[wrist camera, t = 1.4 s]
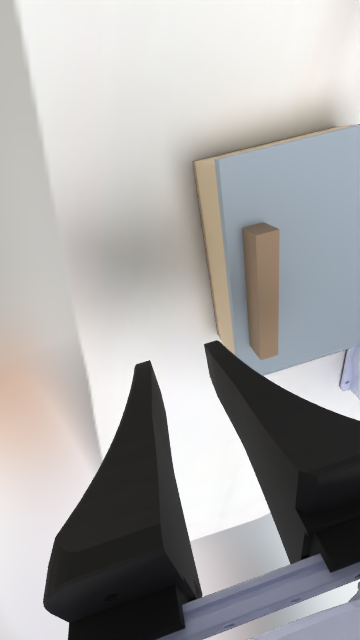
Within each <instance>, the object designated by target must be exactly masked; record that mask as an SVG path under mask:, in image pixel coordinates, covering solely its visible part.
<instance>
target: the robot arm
mask: <svg viewBox="0 0 360 640" xmlns="http://www.w3.org/2000/svg"><path fill="white" fill-rule="evenodd" d="M204 346H205V352H206V357H207V363H208V368H209V374H210V378H211V380H212V383H213V386H214V388H215V391H216V393H217V396H218V398H219V400H220V402H221V404H222V405H223V407H224V409H225V411H226V413H227V415H228V417H229V419H230V421H231V422H232V424H233V426H234V428H235V430H236V432H237V434H238V436H239V438H240V439H241V442H242V444H243V446H244V448H245V450H246V452H247V455H248V457H249V460H250V462H251V464H252V467H253V469H254V472H255V474H256V477H257V479H258V482H259V484H260V486H261V489H262V491H263V494H264V496H265V499H266V501H267V504H268V507H269V509H270V512H271V514H272V517H273V519H274V522H275V524H276V527H277V530H278V532H279V535H280V537H281V540H282V543H283V545H284V548H285V551H286V553H287V556H288V559H289V561H290V565H288V566H285V567H283V568H279V569H277V570H274V571H271V572H269V573H266V574H264V575H261V576H258V577H255V578H253V579H250V580H247V581H245V582H242V583H239V584H237V585H234V586H232V587H229V588H226V589H223V590H221V591H218V592H215V593H213V594H210V595H207V596H205V597H202V591H201V587H200V583H199V579H198V575H197V570H196V566H195V562H194V558H193V553H192V549H191V545H190V541H189V536H188V532H187V528H186V523H185V519H184V515H183V510H182V506H181V501H180V497H179V493H178V488H177V484H176V479H175V474H174V469H173V463H172V456H171V449H170V441H169V433H168V426H167V418H166V412H165V407H164V403H163V399H162V395H161V391H160V388H159V385H158V382H157V379H156V376H155V373H154V371H153V368H152V365H151V362H150V360H149V361H146V362H143V363H139V364H136V366H135V369H134V376H133V381H132V385H131V390H130V393H129V397H128V400H127V404H126V407H125V410H124V413H123V416H122V419H121V422H120V424H119V427H118V429H117V432H116V434H115V437H114V439H113V441H112V444H111V446H110V448H109V450H108V452H107V454H106V456H105V458H104V460H103V462H102V464H101V466H100V468H99V470H98V472H97V473H96V475H95V477H94V478H93V480H92V482H91V484H90V485H89V487H88V489H87V490H86V492H85V494H84V495H83V497H82V499H81V501H80V502H79V503H78V505H77V507H76V508H75V509H74V511H73V512H72V514H71V515H70V517H69V518H68V520H67V521H66V523H65V524H64V526H63V527H62V529H61V530H60V531H59V533H58V534H57V536H56V538H55V541H54V545H53V549H52V553H51V557H50V561H49V566H48V572H47V579H46V586H45V592H44V599H43V604H44V607H45V609H46V610H47V611H48V612H50V613H51V614H53V615H55V616H58V617H59V618H61V619H63V620H65V621H67V622H69V634H68V640H203V639H206V638H208V637H211V636H213V635H216V634H218V633H221V632H223V631H226V630H229V629H232V628H234V627H237V626H239V625H242V624H244V623H247V622H249V621H252V620H255V619H257V618H260V617H262V616H265V615H268V614H270V613H273V612H275V611H278V610H280V609H283V608H286V607H288V606H291V605H294V604H296V603H299V602H301V601H304V600H306V599H309V598H312V597H314V596H317V595H319V594H322V593H325V592H327V591H330V590H332V589H335V588H338V587H340V586H343V585H345V584H348V583H351V582H353V581H356V580H358V579H360V421H358V420H355V419H352V418H349V417H346V416H343V415H341V414H338V413H335V412H333V411H330V410H328V409H325V408H323V407H321V406H318V405H316V404H314V403H312V402H309V401H307V400H305V399H303V398H301V397H299V396H297V395H295V394H293V393H291V392H289V391H287V390H285V389H284V388H282V387H280V386H278V385H277V384H275V383H273V382H272V381H270V380H268V379H267V378H265V377H264V376H262V375H261V374H259V373H258V372H256V371H255V370H254V369H252V368H251V367H250V366H248V365H247V364H246V363H244V362H243V361H242V360H240V359H239V358H238V357H237V356H235V355H234V354H233V353H232V352H231V351H229V350H228V349H227V348H226V347H225V346H224V345H223V344H222V343H221V342H219V341H213V342H210V343H206V344H204ZM340 389H341V390H342V391H346V390H349V389H350V390H351V391H352V392H353V393H354V394H355V395H356V396H357V397H358V398H359V399H360V346H356V347H353V348H350V349H347V355H346V360H345V365H344V370H343V375H342V380H341V385H340ZM358 589H359V590H358V592H357V594H356V595H355V596H353V597H352V598H351V600H349V602H348V603H345V604H342V605H339V606H336V607H333V608H330V609H327V610H324V611H321V612H318V613H315V614H312V615H310V616H307V617H304V618H301V619H298V620H296V621H293V622H290V623H288V624H285V625H283V626H280V627H277V628H275V629H272V630H270V631H267V632H265V633H263V634H260V635H258V636H255V637H253V638H250V639H248V640H360V582H359V583H358Z"/></svg>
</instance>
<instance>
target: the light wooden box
mask: <svg viewBox="0 0 360 640" xmlns="http://www.w3.org/2000/svg"><path fill="white" fill-rule="evenodd" d="M350 126H354V125H350ZM350 126H340V127H334V128H330V129H326V130H322V131H317V132H313V133H309V134H305V135H301V136H297V137H293V138H289V139H284V140H280V141H276V142H272V143H268V144H264V145H260V146H255V147H251V148H247V149H243V150H239V151H235V152H231V153H227V154H222V155H218V156H214V157H210V158H206V159H202V160H198V161H193V167H194V174H195V181H196V188H197V195H198V202H199V209H200V215H201V222H202V229H203V236H204V243H205V250H206V257H207V264H208V271H209V278H210V284H211V291H212V298H213V305H214V312H215V319H216V326H217V333H218V336H219V337H220V339H221V341H222V342H223V344H224V346H225V347H226V348H227V349H228V350H229V351H231V352H232V353H233V354H234V355H235V350H234V340H233V331H232V321H231V312H230V303H229V293H228V284H227V274H226V265H225V256H224V246H223V237H222V227H221V218H220V209H219V199H218V190H217V180H216V171H215V162H214V159H218V158H222V157H226V156H230V155H234V154H238V153H243V152H247V151H251V150H255V149H259V148H263V147H267V146H271V145H276V144H280V143H284V142H288V141H292V140H296V139H300V138H304V137H308V136H313V135H317V134H321V133H325V132H329V131H333V130H337V129H341V128H346V127H350Z"/></svg>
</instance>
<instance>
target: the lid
mask: <svg viewBox="0 0 360 640" xmlns="http://www.w3.org/2000/svg"><path fill="white" fill-rule="evenodd" d="M214 162H215V171H216V180H217V190H218V199H219V209H220V218H221V227H222V237H223V246H224V256H225V265H226V274H227V284H228V293H229V303H230V312H231V321H232V331H233V340H234V350H235V356H237V357H238V358H239V359H240V360H242V361H243V362H244V363H246V364H247V365H248V366H250V367H251V368H252V369H254V370H255V371H256V372H258V373H259V374H261V375H262V376H264V375H267V374H270V373H273V372H276V371H280V370H283V369H286V368H289V367H292V366H296V365H299V364H302V363H305V362H308V361H312V360H315V359H318V358H321V357H324V356H328V355H331V354H334V353H337V352H340V351H344V350H347V349H350V348H353V347H356V346H360V124H358V125H354V126H350V127H346V128H341V129H337V130H333V131H329V132H325V133H321V134H317V135H313V136H308V137H304V138H300V139H296V140H292V141H288V142H284V143H280V144H276V145H271V146H267V147H263V148H259V149H255V150H251V151H247V152H243V153H238V154H234V155H230V156H226V157H222V158H218V159H214Z"/></svg>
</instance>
